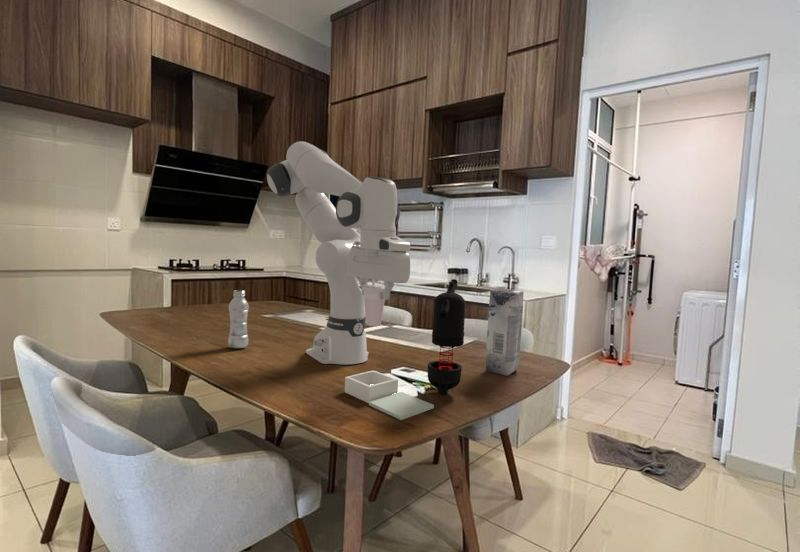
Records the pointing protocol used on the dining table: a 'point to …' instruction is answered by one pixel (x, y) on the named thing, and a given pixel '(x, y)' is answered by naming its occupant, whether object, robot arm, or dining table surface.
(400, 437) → the dining table surface
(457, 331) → the filter
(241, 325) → the plastic bottle
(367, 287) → the smoothie
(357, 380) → the shallow white tray
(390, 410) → the coaster
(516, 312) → the juice carton
